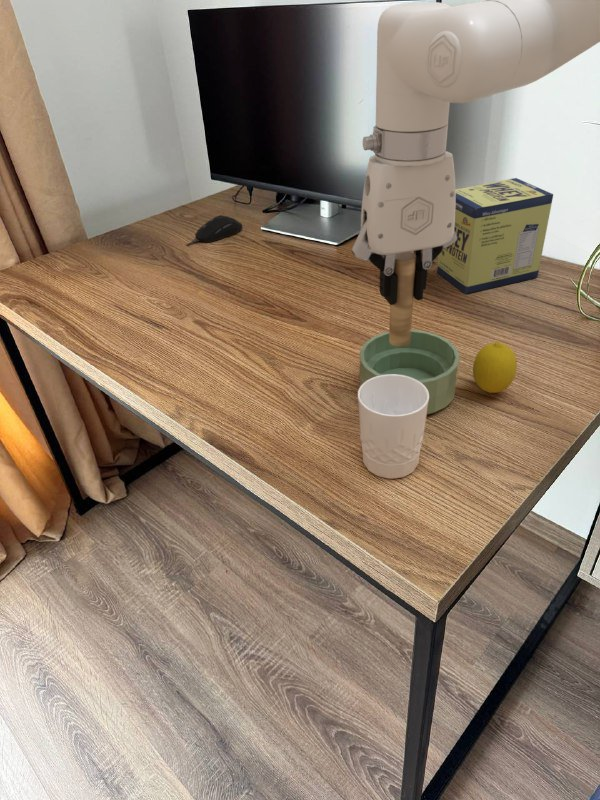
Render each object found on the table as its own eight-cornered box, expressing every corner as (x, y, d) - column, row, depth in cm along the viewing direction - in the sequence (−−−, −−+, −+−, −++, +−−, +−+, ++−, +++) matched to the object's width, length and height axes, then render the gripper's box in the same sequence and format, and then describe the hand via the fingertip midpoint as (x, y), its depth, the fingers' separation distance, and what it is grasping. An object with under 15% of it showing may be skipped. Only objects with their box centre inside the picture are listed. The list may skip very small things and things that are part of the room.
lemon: (516, 387, 81) (526, 337, 77) (504, 409, 78) (513, 358, 73) (477, 377, 84) (484, 328, 79) (463, 397, 80) (470, 347, 75)
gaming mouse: (179, 242, 133) (176, 225, 130) (232, 224, 140) (230, 207, 138) (194, 249, 129) (191, 232, 126) (248, 230, 136) (246, 213, 134)
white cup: (428, 444, 73) (434, 379, 67) (417, 488, 67) (422, 421, 61) (366, 434, 75) (367, 369, 69) (350, 475, 69) (349, 409, 64)
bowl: (430, 357, 89) (433, 322, 85) (472, 408, 78) (477, 370, 75) (347, 374, 87) (347, 339, 83) (379, 428, 76) (380, 391, 73)
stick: (405, 334, 79) (410, 249, 72) (413, 344, 77) (419, 258, 69) (385, 337, 78) (388, 253, 71) (393, 348, 76) (397, 262, 69)
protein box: (435, 272, 112) (441, 190, 103) (505, 257, 116) (517, 176, 106) (465, 295, 104) (475, 208, 95) (539, 278, 108) (556, 192, 98)
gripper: (348, 161, 58) (349, 323, 69) (497, 141, 61) (475, 300, 72) (327, 143, 64) (331, 295, 75) (464, 126, 67) (448, 275, 78)
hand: (402, 296), depth 74 cm, fingers closed on stick, 2 cm apart
